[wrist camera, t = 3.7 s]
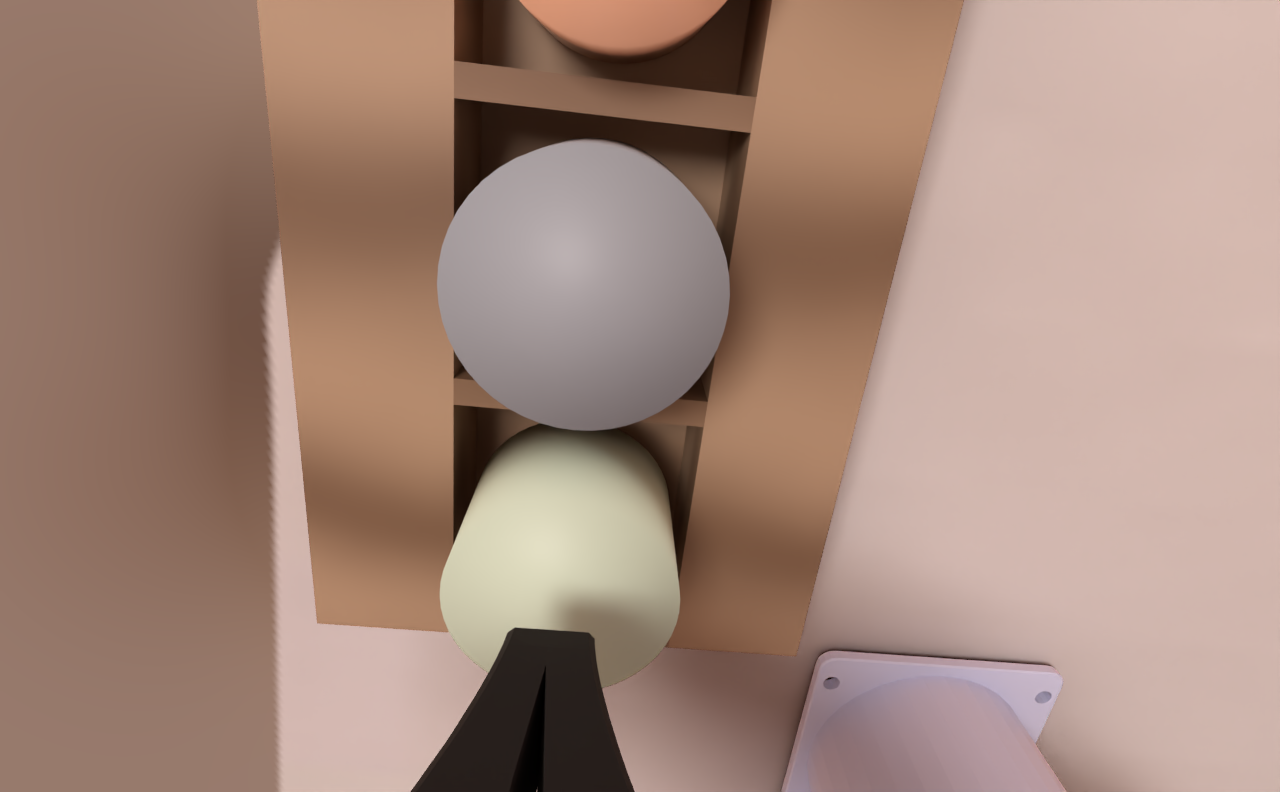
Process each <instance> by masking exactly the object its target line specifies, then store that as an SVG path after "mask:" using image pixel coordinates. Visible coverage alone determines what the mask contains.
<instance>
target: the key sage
mask: <svg viewBox="0 0 1280 792" xmlns="http://www.w3.org/2000/svg"><path fill="white" fill-rule="evenodd" d="M440 605H441V611H442V614H443V618H444V621H445V624H446V626H447V628H448V631H449V633H450V634H451V636H452V638H453V639H454V641H455V642H456V644H457V645H458V646H459V647H460V649H461V650H462V651H463V652H464V654H466V655H467V656H468V657H469V658H470V659H471V660H472V661H473V662H474V663H475V664H477V665H478V666H479V667H481V668H482V669H483V670H485V671H486V672H488V673H489V671H490V669H491V667H492V666H493V664H494V662H495V660H496V658H497V656H498V653H499V651H500V649H501V647H502V645H503V643H504V640H505V638H506V635H507V633H508V632H509V631H510V630H512V629H513V628H515V627H516V628H531V629H545V630H560V631H575V632H589V633H590V634H591V635H592V636H593V637H594V638H595V652H596V661H597V667H598V672H599V677H600V682H601V687H602V688H604V687H607V686H611V685H613V684H616V683H618V682H621V681H623V680H625V679H627V678H629V677H630V676H632V675H634V674H636V673H637V672H639V671H640V670H641V669H643V668H644V667H646V666H647V665H648V664H649V663H650V662H651V661H652V660H653V659H655V658H656V657H657V655H658V654H659V653H660V652H661V651H662V649H663V648H664V647H665V645H666V644H667V642H668V641H669V639H670V637H671V636H672V633H673V631H674V628H675V626H676V623H677V619H678V615H679V609H680V590H679V580H678V572H677V563H676V554H675V546H674V537H673V529H672V520H671V512H670V503H669V495H668V489H667V485H666V481H665V478H664V476H663V473H662V471H661V469H660V468H659V466H658V464H657V462H656V461H655V459H654V458H653V457H652V456H651V454H650V453H649V452H648V451H647V450H646V449H645V448H644V447H643V446H642V445H641V444H640V443H639V442H637V441H636V440H635V439H633V438H632V437H631V436H629V435H627V434H625V433H624V432H622V431H620V430H618V429H616V428H613V429H606V430H595V431H582V430H569V429H562V428H556V427H552V426H549V425H545V424H541V423H539V424H537V425H534V426H531V427H528V428H526V429H524V430H522V431H520V432H518V433H517V434H515V435H514V436H512V437H511V438H509V439H508V440H507V441H506V442H504V443H503V444H502V445H501V446H500V447H499V448H498V449H497V450H496V452H495V453H494V454H493V455H492V456H491V458H490V459H489V461H488V463H487V464H486V466H485V468H484V471H483V473H482V475H481V478H480V480H479V483H478V485H477V488H476V490H475V493H474V495H473V498H472V500H471V502H470V505H469V507H468V510H467V512H466V515H465V517H464V520H463V522H462V525H461V527H460V530H459V532H458V535H457V537H456V540H455V542H454V545H453V547H452V550H451V552H450V555H449V557H448V560H447V562H446V565H445V567H444V570H443V574H442V578H441V582H440Z"/></svg>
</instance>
